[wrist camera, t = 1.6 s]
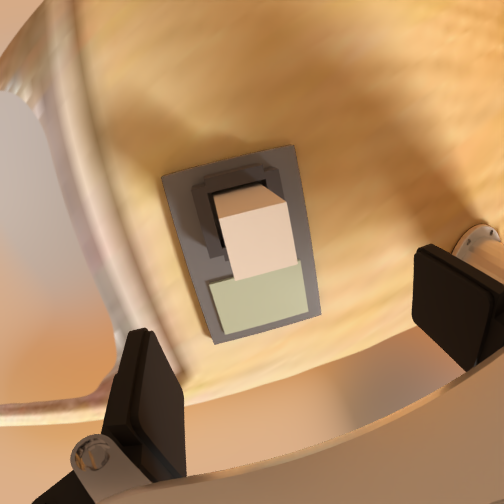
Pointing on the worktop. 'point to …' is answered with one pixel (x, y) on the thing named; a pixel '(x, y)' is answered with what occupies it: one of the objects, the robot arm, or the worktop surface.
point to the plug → (255, 229)
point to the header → (215, 253)
